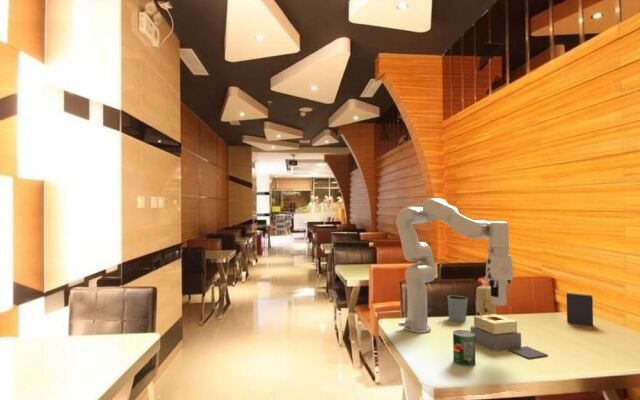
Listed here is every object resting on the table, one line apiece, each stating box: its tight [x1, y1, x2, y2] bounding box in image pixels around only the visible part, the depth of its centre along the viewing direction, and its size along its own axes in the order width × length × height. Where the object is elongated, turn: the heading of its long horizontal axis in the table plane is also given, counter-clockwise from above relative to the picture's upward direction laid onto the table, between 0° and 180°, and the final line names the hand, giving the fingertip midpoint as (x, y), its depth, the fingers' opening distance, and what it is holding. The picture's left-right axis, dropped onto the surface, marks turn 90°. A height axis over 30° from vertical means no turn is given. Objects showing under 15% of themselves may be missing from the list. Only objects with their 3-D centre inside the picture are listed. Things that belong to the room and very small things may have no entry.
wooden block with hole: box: [473, 313, 518, 335], centre depth 163 cm, size 14×12×4 cm
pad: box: [507, 345, 549, 360], centre depth 151 cm, size 10×10×1 cm
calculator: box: [566, 292, 594, 327], centre depth 194 cm, size 11×4×15 cm, turn 58°
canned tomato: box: [452, 329, 477, 368], centre depth 142 cm, size 8×8×11 cm
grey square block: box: [470, 325, 522, 352], centre depth 163 cm, size 14×14×6 cm
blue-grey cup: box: [447, 294, 469, 323], centre depth 200 cm, size 10×10×12 cm
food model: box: [475, 285, 497, 316], centre depth 188 cm, size 10×7×20 cm
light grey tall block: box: [491, 280, 508, 307], centre depth 153 cm, size 4×4×11 cm
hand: (498, 295), depth 153 cm, fingers closed on light grey tall block, 4 cm apart
